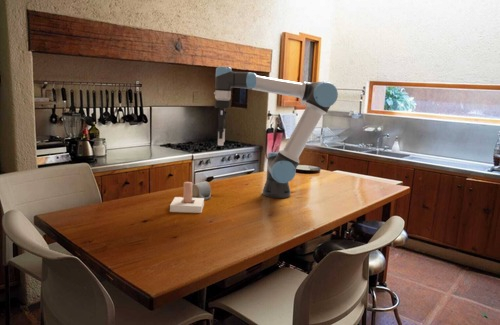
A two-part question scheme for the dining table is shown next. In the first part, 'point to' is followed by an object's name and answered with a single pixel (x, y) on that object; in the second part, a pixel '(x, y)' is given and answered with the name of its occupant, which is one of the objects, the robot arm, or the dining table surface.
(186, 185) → the peg
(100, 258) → the dining table surface
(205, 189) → the ceramic mug
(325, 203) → the dining table surface
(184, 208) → the socket block
